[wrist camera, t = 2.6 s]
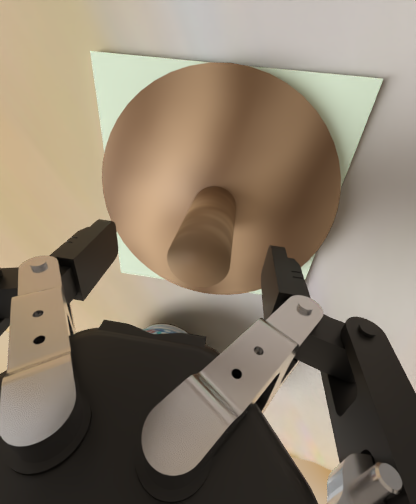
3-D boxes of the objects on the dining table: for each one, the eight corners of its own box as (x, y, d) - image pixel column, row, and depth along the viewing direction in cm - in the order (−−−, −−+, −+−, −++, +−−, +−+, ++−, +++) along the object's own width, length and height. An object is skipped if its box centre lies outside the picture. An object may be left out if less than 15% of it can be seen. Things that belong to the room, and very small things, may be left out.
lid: (383, 78, 14) (506, 69, 7) (297, 300, 23) (315, 384, 17) (90, 50, 15) (-36, 20, 8) (121, 272, 24) (73, 340, 18)
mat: (378, 79, 14) (383, 78, 14) (296, 295, 24) (297, 300, 23) (95, 52, 16) (90, 51, 15) (123, 268, 25) (121, 272, 24)
